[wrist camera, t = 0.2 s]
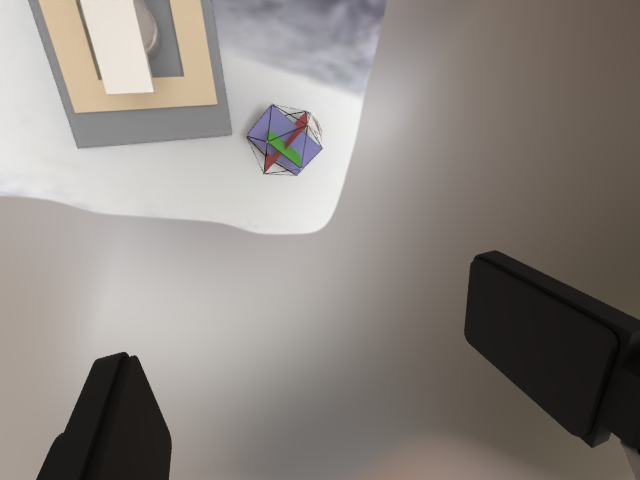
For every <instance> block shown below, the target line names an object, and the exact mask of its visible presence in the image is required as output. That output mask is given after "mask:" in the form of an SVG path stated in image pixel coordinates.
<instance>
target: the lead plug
mask: <svg viewBox="0 0 640 480" xmlns="http://www.w3.org/2000/svg"><path fill="white" fill-rule="evenodd" d="M135 3H136V8H137V12H138V16H139V21H140V25H141V29H142V34H143V38H144V42H145V47H146V51H147V56H148V60H149V61H151V60H152V59H154V58H155V57H156V56H157V55H158V53H159V51H160V49H161V44H162V37H161V32H160V29H159V27H158V25H157V23H156V21H155V19H154V17H153V16H152V14H151V12H150V10H149V8H148V7H147V5H146V3H145V2H144V0H135ZM82 15H83V19H84V22H85V24H86V26H87V23H86V20H85V16H84V13H83V9H82ZM87 28H88V27H87Z"/></svg>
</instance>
